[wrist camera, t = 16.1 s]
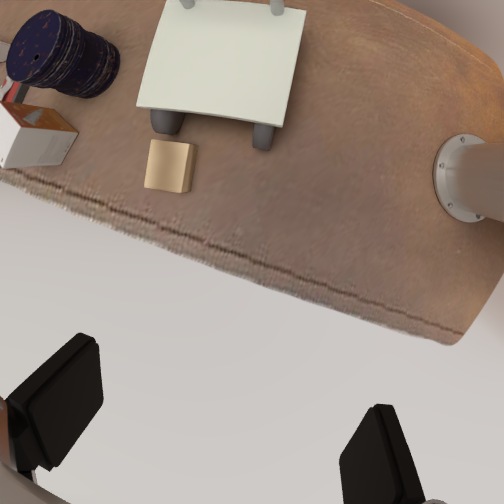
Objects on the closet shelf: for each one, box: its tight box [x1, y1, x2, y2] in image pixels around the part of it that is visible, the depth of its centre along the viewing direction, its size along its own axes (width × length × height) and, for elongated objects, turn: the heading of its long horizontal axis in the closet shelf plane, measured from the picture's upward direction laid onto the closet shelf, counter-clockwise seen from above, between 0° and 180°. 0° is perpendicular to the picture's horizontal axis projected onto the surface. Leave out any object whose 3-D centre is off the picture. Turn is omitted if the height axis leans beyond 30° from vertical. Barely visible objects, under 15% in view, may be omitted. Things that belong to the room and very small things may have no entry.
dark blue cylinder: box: [6, 10, 120, 99], centre depth 29 cm, size 10×10×15 cm
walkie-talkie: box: [0, 75, 30, 104], centre depth 37 cm, size 9×4×20 cm
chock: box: [144, 140, 198, 193], centre depth 38 cm, size 5×6×4 cm
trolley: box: [136, 0, 306, 151], centre depth 25 cm, size 16×19×23 cm
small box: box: [0, 101, 78, 169], centre depth 33 cm, size 8×6×13 cm
